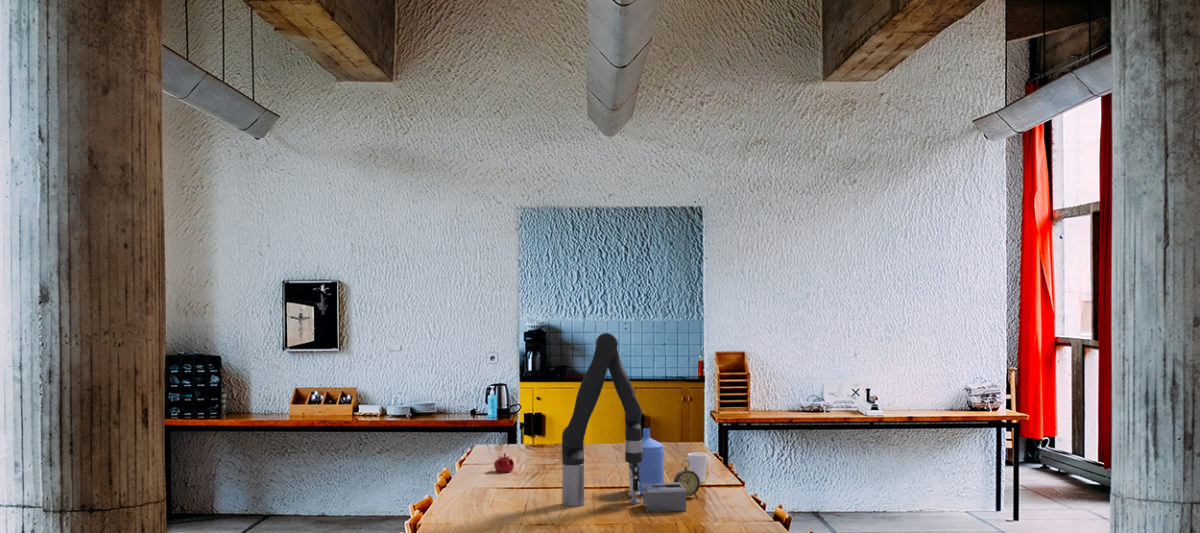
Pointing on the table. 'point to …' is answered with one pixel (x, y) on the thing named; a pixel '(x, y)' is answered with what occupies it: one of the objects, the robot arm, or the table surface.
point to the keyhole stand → (664, 497)
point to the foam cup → (698, 464)
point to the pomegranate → (504, 464)
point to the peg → (633, 493)
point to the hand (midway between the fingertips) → (634, 488)
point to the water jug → (651, 461)
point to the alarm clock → (688, 481)
